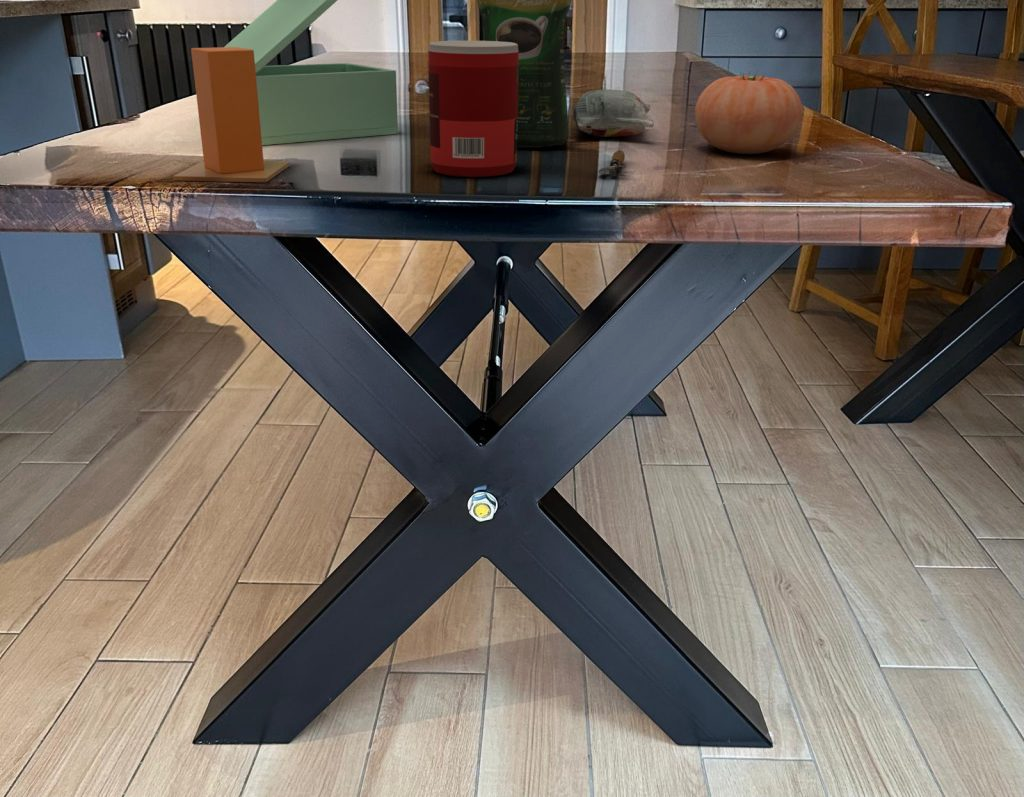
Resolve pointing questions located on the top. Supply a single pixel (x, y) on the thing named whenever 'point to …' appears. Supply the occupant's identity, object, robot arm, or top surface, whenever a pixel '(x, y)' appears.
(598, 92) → the packaged food
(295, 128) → the box
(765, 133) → the orange pumpkin
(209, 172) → the coaster
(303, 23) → the lunchbox lid
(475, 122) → the canned food
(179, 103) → the top surface
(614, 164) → the can opener
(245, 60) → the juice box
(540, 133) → the green coffee bag
